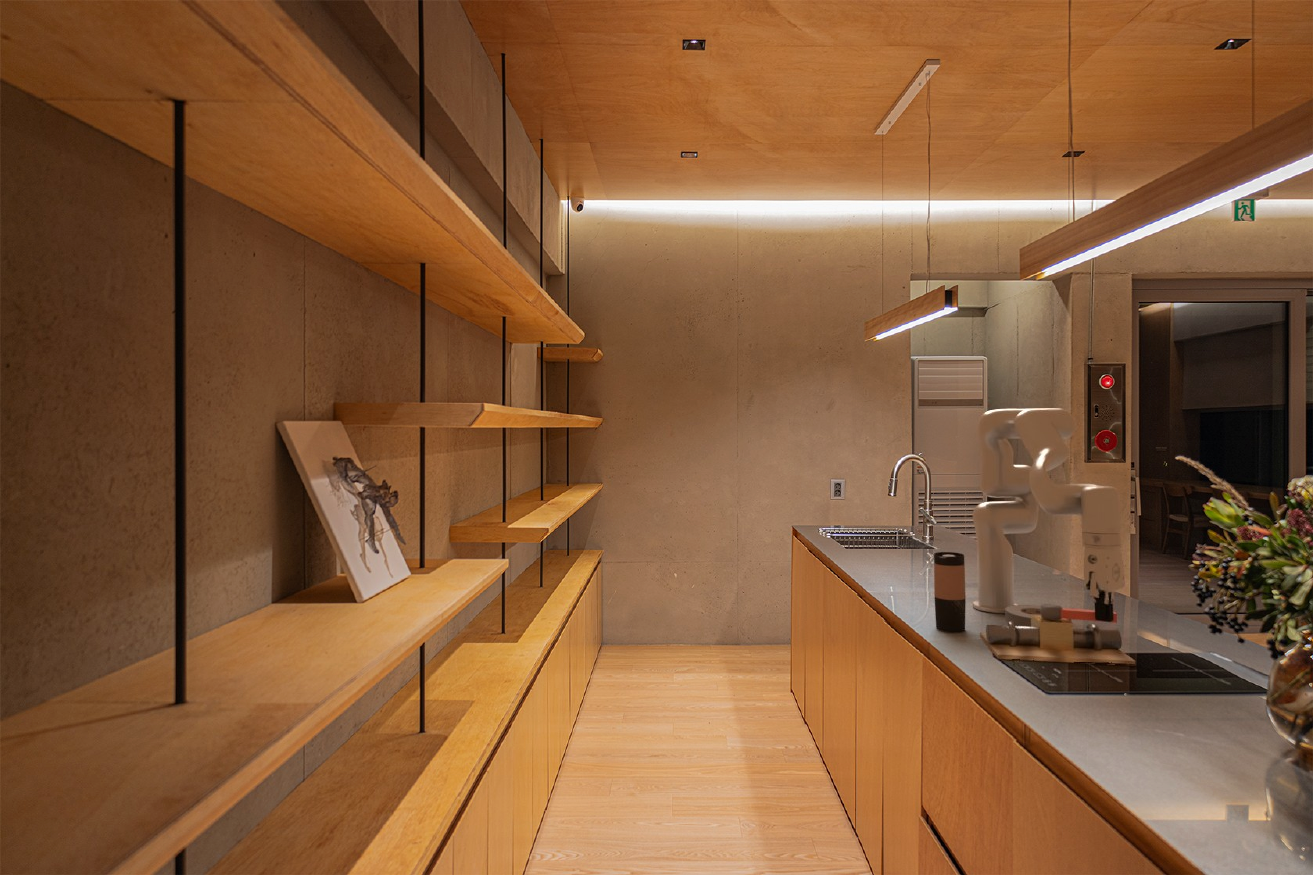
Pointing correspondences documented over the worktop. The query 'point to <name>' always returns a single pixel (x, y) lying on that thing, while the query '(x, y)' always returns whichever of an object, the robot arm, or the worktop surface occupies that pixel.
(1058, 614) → the lever
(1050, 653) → the mount board
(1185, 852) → the worktop surface
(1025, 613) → the tape roll
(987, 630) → the valve
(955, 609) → the travel mug
